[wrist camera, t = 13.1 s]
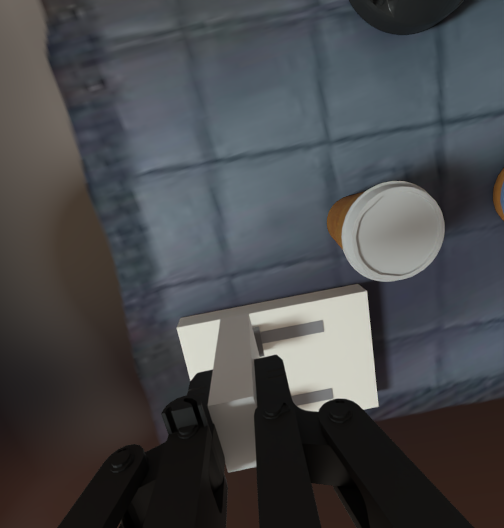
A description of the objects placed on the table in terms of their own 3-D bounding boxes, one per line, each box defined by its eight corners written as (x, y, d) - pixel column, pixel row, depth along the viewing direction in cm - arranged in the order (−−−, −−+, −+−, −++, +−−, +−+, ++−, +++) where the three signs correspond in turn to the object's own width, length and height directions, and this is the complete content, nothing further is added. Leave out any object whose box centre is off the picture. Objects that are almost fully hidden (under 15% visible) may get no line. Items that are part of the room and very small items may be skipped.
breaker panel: (357, 283, 42) (367, 291, 39) (369, 392, 47) (378, 407, 44) (180, 318, 42) (176, 328, 39) (208, 424, 46) (206, 440, 43)
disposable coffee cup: (381, 173, 39) (443, 167, 28) (393, 246, 42) (455, 270, 30) (306, 193, 39) (337, 197, 28) (322, 265, 42) (356, 297, 30)
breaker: (258, 326, 39) (262, 350, 34) (263, 352, 40) (268, 379, 35) (227, 332, 39) (225, 357, 34) (232, 357, 40) (232, 387, 34)
